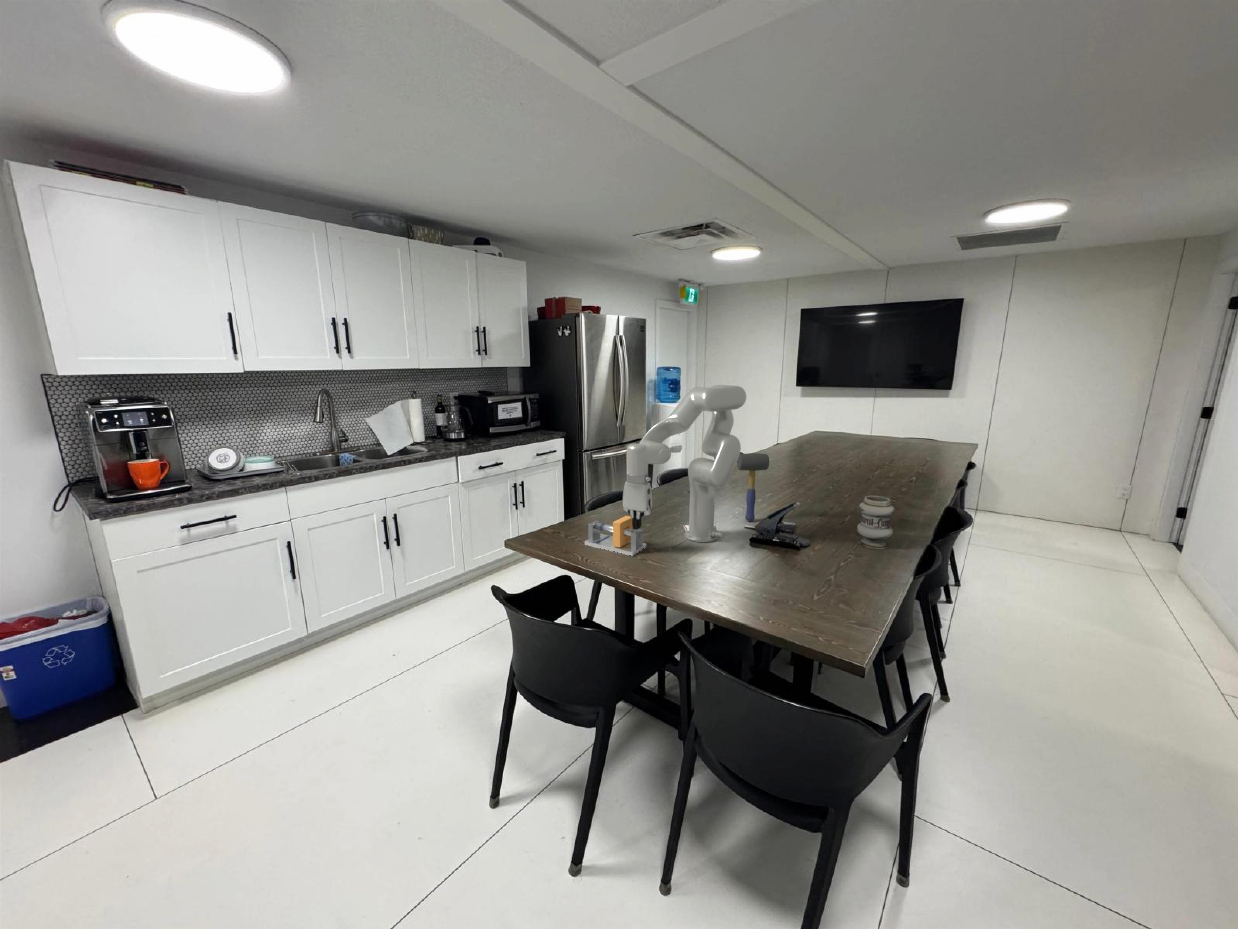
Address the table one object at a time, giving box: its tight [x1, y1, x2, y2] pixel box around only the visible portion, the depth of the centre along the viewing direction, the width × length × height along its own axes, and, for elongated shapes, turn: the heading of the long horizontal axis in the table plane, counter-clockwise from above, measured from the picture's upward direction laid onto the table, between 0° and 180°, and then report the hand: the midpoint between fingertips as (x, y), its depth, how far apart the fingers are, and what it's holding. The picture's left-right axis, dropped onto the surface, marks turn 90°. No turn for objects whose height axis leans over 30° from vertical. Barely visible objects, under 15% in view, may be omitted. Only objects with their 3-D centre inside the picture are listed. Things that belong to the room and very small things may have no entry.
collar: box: [612, 515, 634, 547], centre depth 176 cm, size 3×9×9 cm, turn 147°
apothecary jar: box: [856, 495, 896, 550], centre depth 179 cm, size 12×12×18 cm
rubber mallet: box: [736, 452, 770, 522], centre depth 205 cm, size 12×8×30 cm, turn 90°
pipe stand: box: [584, 519, 647, 557], centre depth 179 cm, size 21×10×8 cm, turn 57°
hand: (636, 528), depth 173 cm, fingers closed
